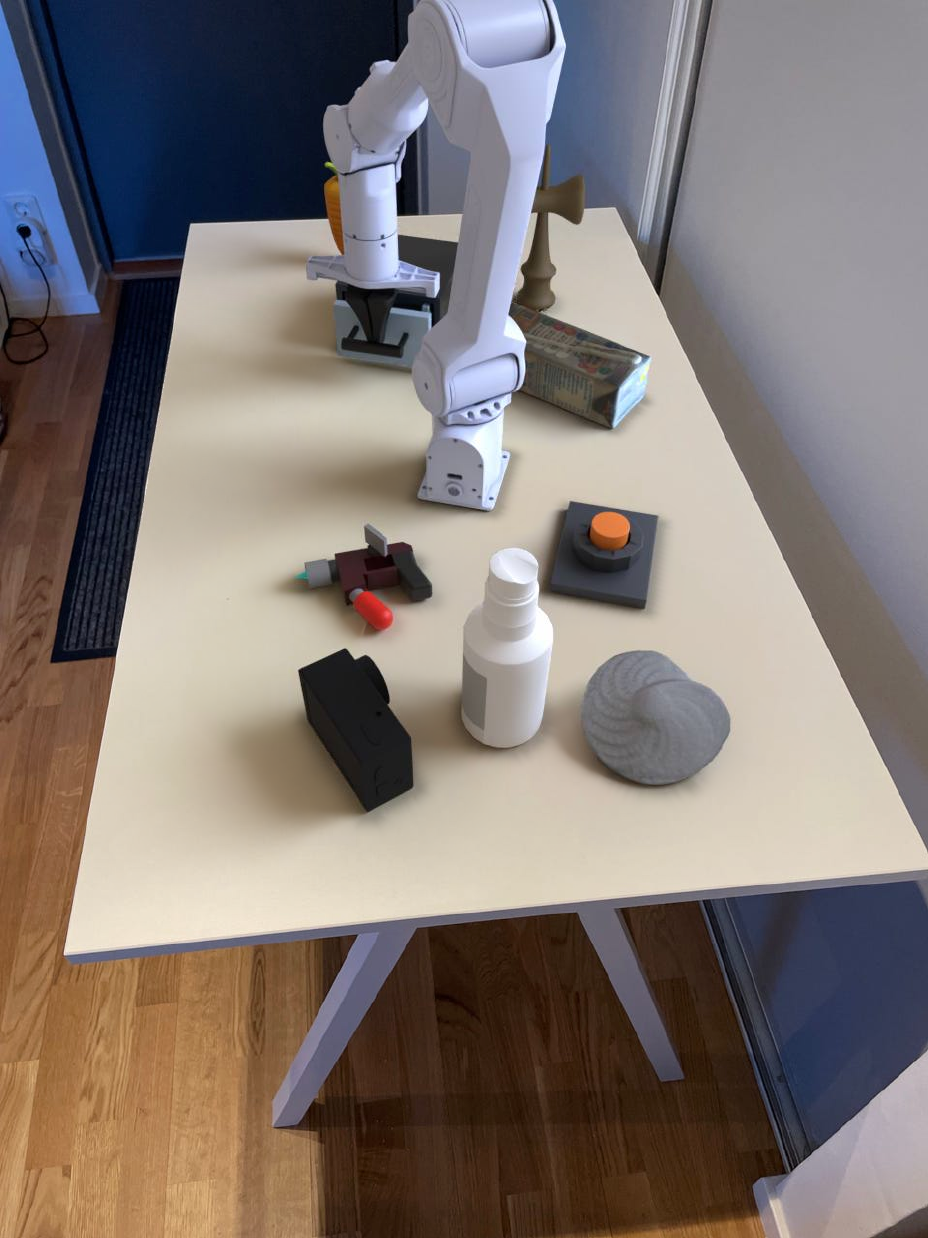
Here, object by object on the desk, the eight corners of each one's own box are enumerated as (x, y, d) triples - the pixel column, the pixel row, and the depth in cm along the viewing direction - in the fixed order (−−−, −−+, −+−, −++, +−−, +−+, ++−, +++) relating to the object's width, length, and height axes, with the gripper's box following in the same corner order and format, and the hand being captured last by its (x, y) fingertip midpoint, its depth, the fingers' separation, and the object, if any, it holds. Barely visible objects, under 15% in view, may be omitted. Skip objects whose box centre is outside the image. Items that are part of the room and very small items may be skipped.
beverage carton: (612, 433, 103) (620, 383, 98) (471, 375, 110) (472, 325, 105) (645, 399, 107) (655, 349, 102) (508, 345, 114) (510, 296, 109)
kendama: (498, 291, 123) (505, 133, 108) (569, 291, 123) (587, 133, 108) (500, 315, 119) (508, 154, 104) (574, 315, 119) (592, 155, 104)
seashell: (618, 661, 81) (550, 720, 75) (642, 621, 77) (572, 679, 71) (724, 749, 78) (662, 818, 72) (755, 711, 73) (691, 782, 67)
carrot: (365, 271, 126) (357, 158, 114) (329, 270, 126) (317, 157, 114) (368, 254, 129) (361, 141, 118) (333, 253, 129) (322, 140, 118)
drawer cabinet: (440, 363, 111) (440, 298, 105) (341, 349, 113) (334, 283, 107) (465, 306, 120) (467, 242, 114) (373, 293, 122) (369, 230, 115)
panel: (644, 609, 85) (650, 587, 83) (549, 592, 87) (552, 570, 84) (656, 524, 93) (661, 501, 91) (568, 509, 94) (571, 486, 92)
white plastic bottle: (500, 670, 80) (511, 517, 67) (558, 716, 77) (583, 565, 64) (444, 714, 77) (444, 563, 64) (502, 764, 74) (515, 616, 60)
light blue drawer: (420, 390, 106) (418, 338, 101) (326, 376, 108) (320, 323, 103) (454, 315, 117) (454, 264, 112) (368, 303, 119) (365, 252, 113)
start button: (624, 553, 87) (627, 540, 85) (587, 547, 87) (589, 533, 86) (629, 528, 89) (632, 514, 88) (592, 522, 89) (594, 508, 88)
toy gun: (293, 574, 88) (287, 537, 84) (416, 552, 90) (415, 515, 86) (310, 650, 82) (303, 613, 78) (441, 624, 84) (440, 588, 80)
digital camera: (428, 781, 73) (427, 731, 68) (367, 814, 71) (362, 765, 66) (364, 692, 79) (359, 640, 73) (307, 720, 77) (297, 668, 71)
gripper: (446, 219, 97) (446, 333, 107) (316, 201, 99) (327, 315, 109) (429, 250, 93) (430, 367, 103) (293, 232, 95) (307, 348, 105)
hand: (376, 343), depth 106 cm, fingers closed, pressing on light blue drawer
